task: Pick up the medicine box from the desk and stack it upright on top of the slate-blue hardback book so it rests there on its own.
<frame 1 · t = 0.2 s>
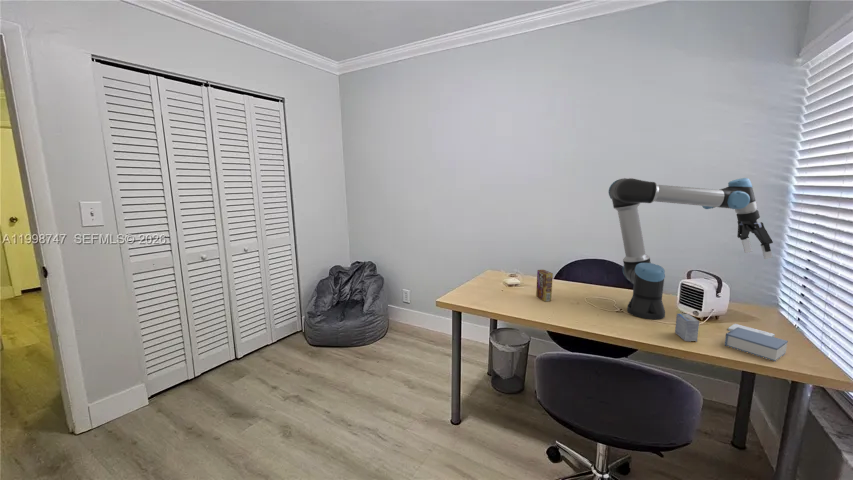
hand: (758, 255, 159), 28 cm above the table, tool tilted 20°, fingers open, 13 cm apart
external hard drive: (750, 334, 141), on the table
medicine box: (685, 337, 137), on the table
book: (754, 349, 127), on the table
candy box: (543, 299, 185), on the table
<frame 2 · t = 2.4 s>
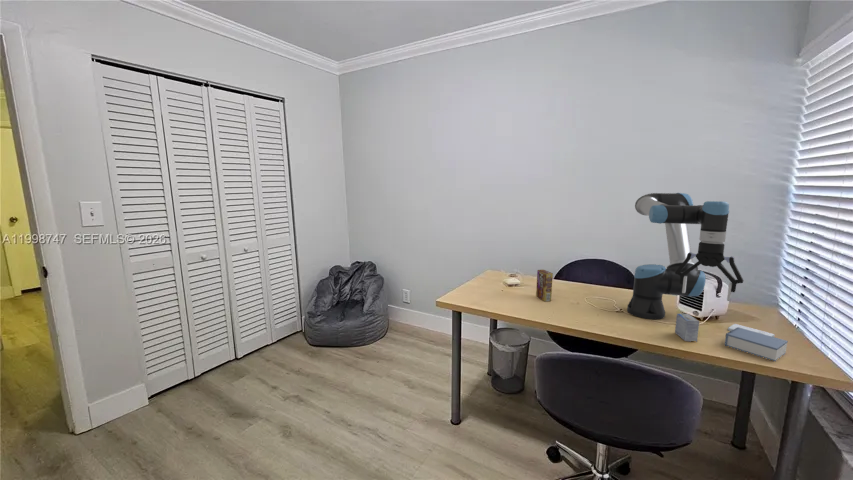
hand: (705, 296, 133), 18 cm above the table, tool pointing down, fingers open, 13 cm apart
nothing on the table moved.
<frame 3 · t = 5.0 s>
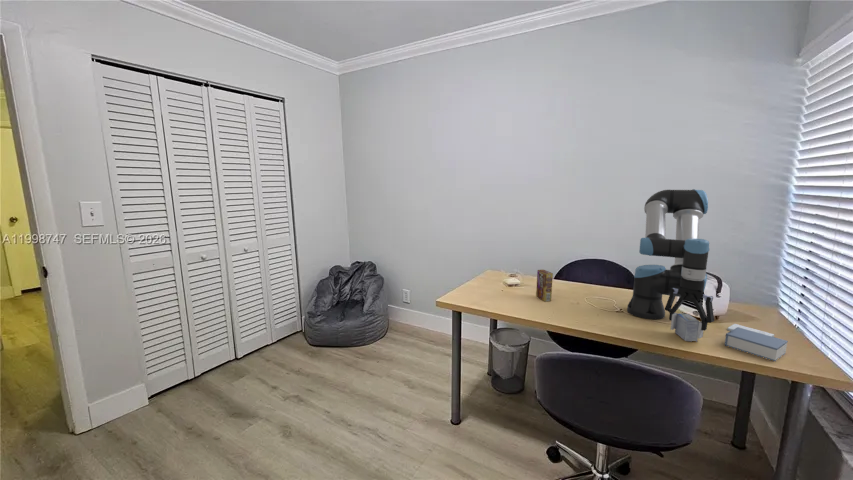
hand: (686, 332, 137), 2 cm above the table, tool pointing down, fingers closed on medicine box, 9 cm apart
medicine box: (685, 337, 137), on the table, touching gripper
everything else where it was.
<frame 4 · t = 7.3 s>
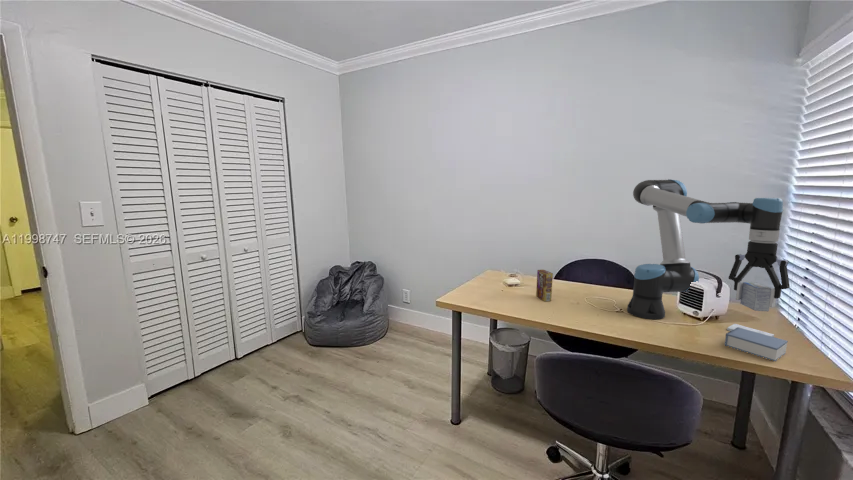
hand: (754, 302, 124), 18 cm above the table, tool pointing down, fingers closed on medicine box, 9 cm apart
medicine box: (753, 308, 125), point 16 cm above the table, touching gripper
everything else where it was.
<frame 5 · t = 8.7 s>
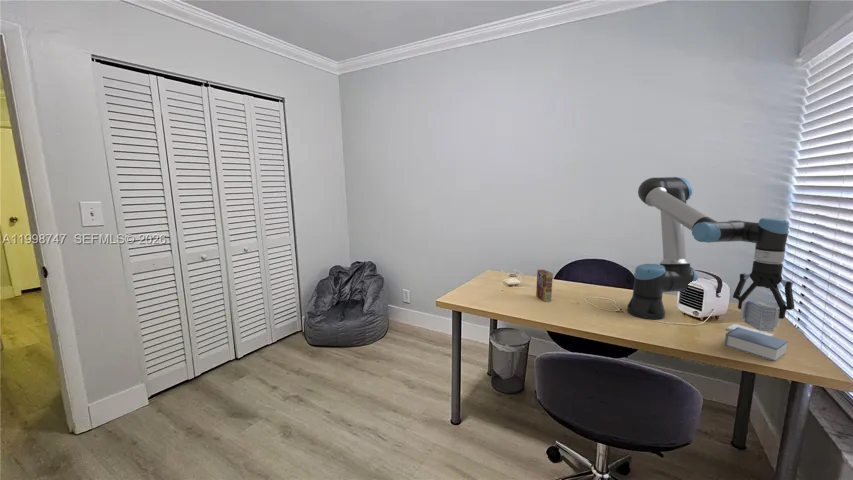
hand: (758, 322, 125), 11 cm above the table, tool pointing down, fingers closed on medicine box, 9 cm apart
medicine box: (758, 327, 125), point 9 cm above the table, touching gripper
everything else where it was.
when the fingers open (8 cm above the table, at t = 9.7 s): medicine box drops 1 cm, resting on book.
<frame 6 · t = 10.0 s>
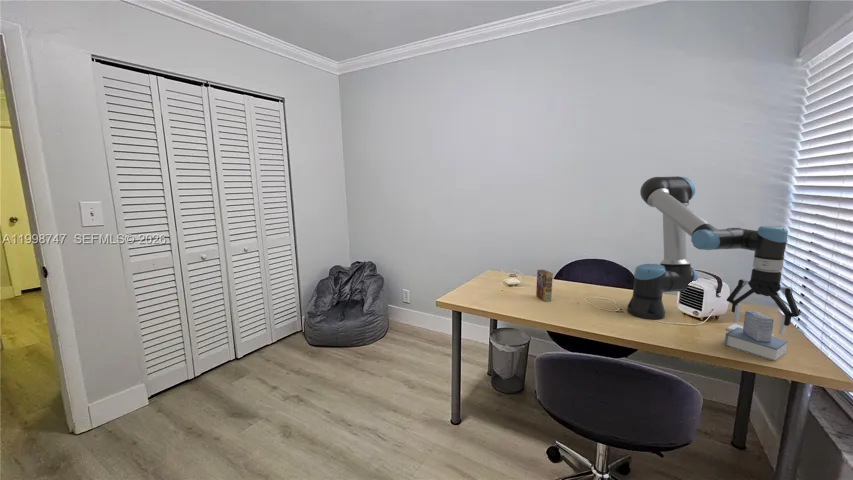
hand: (757, 327, 125), 9 cm above the table, tool pointing down, fingers open, 12 cm apart
medicine box: (756, 337, 126), point 5 cm above the table, touching book
book: (754, 349, 127), on the table, touching medicine box
everything else where it was.
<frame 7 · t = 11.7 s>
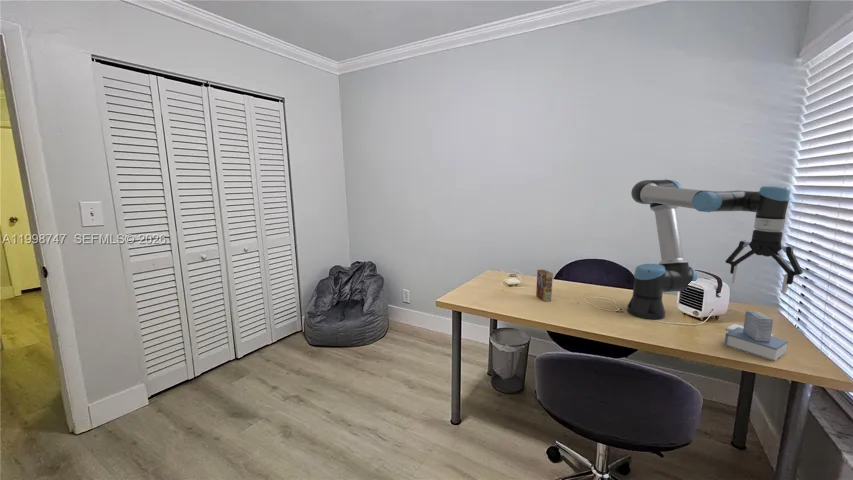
hand: (757, 287, 125), 23 cm above the table, tool pointing down, fingers open, 13 cm apart
nothing on the table moved.
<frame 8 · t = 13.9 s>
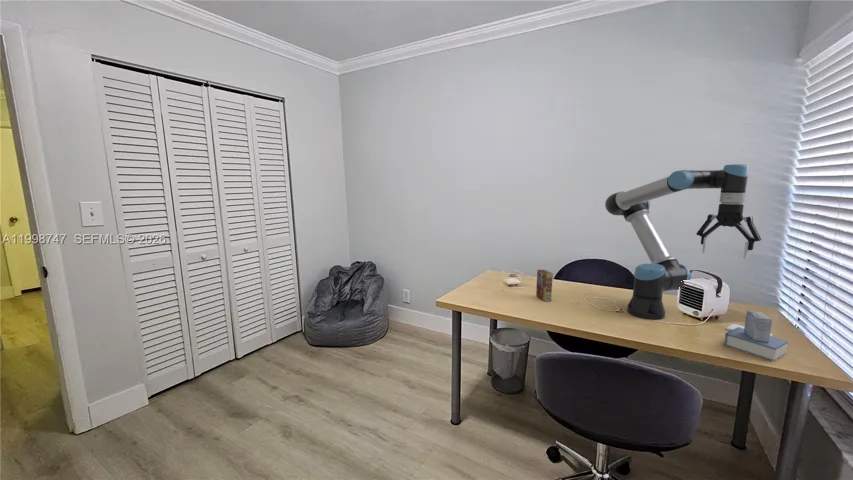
hand: (724, 255, 141), 32 cm above the table, tool pointing down, fingers open, 13 cm apart
nothing on the table moved.
at the end: medicine box inside the target area on the book (0.2 cm from its centre), point 4.8 cm above the book's base; medicine box tilted 0°; the gripper is holding nothing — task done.
